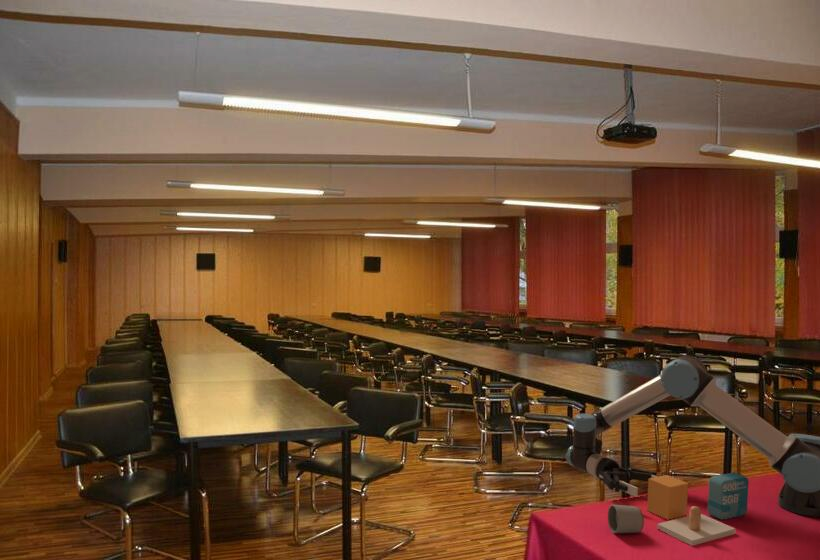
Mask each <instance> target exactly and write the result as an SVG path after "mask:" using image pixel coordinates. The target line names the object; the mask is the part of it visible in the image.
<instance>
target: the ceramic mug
mask: <svg viewBox="0 0 820 560" xmlns="http://www.w3.org/2000/svg"><path fill="white" fill-rule="evenodd" d="M607 511H608V512H607V523H608V527H609V530H610V531H611V533H613V534H637V533H641V532H642V530H643V528H644V526H645V519H644V514H643V511H642V509H641V508H639V507H638V506H634V505H623V504H611V505H610V506H609V508H608V510H607Z"/></svg>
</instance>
